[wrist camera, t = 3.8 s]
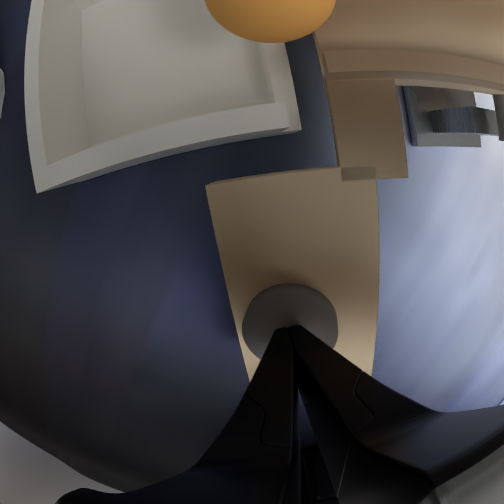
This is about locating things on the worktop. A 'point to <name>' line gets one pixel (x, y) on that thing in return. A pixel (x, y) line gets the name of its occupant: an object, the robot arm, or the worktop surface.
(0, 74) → the foam cup
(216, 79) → the dish
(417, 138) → the fulcrum
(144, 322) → the worktop surface
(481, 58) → the lever
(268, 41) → the ball
